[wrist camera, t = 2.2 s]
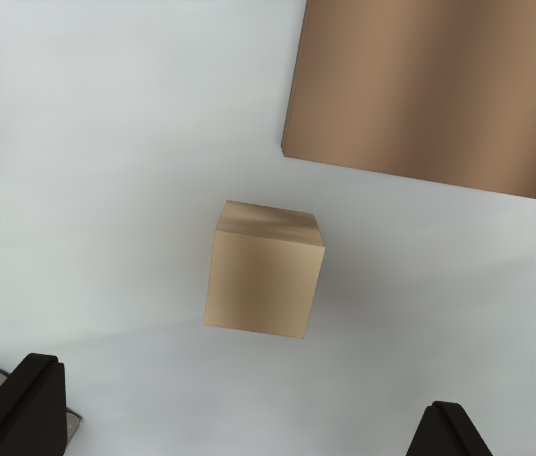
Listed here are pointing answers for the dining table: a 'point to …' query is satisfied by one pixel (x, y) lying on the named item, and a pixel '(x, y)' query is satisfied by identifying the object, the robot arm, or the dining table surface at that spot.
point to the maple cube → (263, 270)
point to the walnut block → (419, 90)
